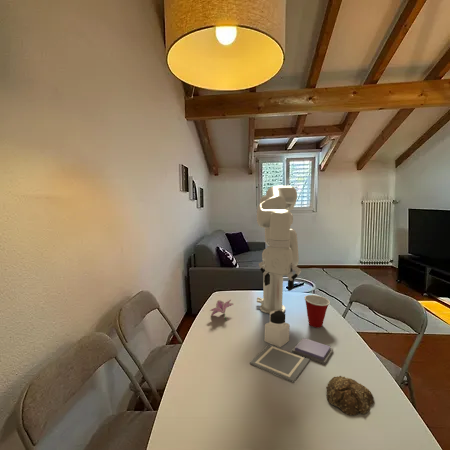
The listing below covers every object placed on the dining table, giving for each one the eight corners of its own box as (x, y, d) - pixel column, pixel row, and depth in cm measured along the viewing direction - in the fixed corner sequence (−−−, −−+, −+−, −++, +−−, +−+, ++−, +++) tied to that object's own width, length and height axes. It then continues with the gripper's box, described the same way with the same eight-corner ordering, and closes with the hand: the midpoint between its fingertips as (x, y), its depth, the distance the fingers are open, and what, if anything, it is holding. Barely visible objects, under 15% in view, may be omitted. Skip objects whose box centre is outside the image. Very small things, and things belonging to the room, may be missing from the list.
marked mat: (249, 363, 96) (249, 361, 96) (268, 345, 107) (268, 343, 107) (293, 382, 87) (293, 380, 87) (309, 360, 98) (309, 358, 98)
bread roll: (333, 378, 89) (334, 364, 89) (376, 396, 81) (377, 381, 81) (318, 401, 79) (319, 385, 79) (365, 425, 72) (366, 407, 71)
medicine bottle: (289, 340, 111) (290, 312, 110) (279, 348, 106) (280, 318, 104) (274, 334, 116) (274, 307, 114) (264, 341, 111) (264, 312, 109)
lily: (237, 316, 135) (231, 296, 138) (237, 317, 124) (230, 296, 127) (214, 324, 135) (208, 304, 137) (212, 326, 124) (205, 304, 126)
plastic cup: (329, 332, 118) (330, 305, 116) (302, 328, 121) (303, 301, 120) (328, 321, 128) (329, 296, 126) (304, 317, 131) (305, 293, 130)
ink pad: (291, 352, 103) (292, 347, 103) (301, 341, 111) (302, 336, 111) (324, 364, 96) (325, 359, 96) (333, 351, 104) (333, 346, 104)
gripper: (254, 242, 108) (254, 285, 110) (297, 248, 98) (296, 295, 100) (264, 240, 114) (263, 280, 116) (305, 244, 104) (303, 289, 106)
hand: (278, 287), depth 108 cm, fingers open, 9 cm apart
